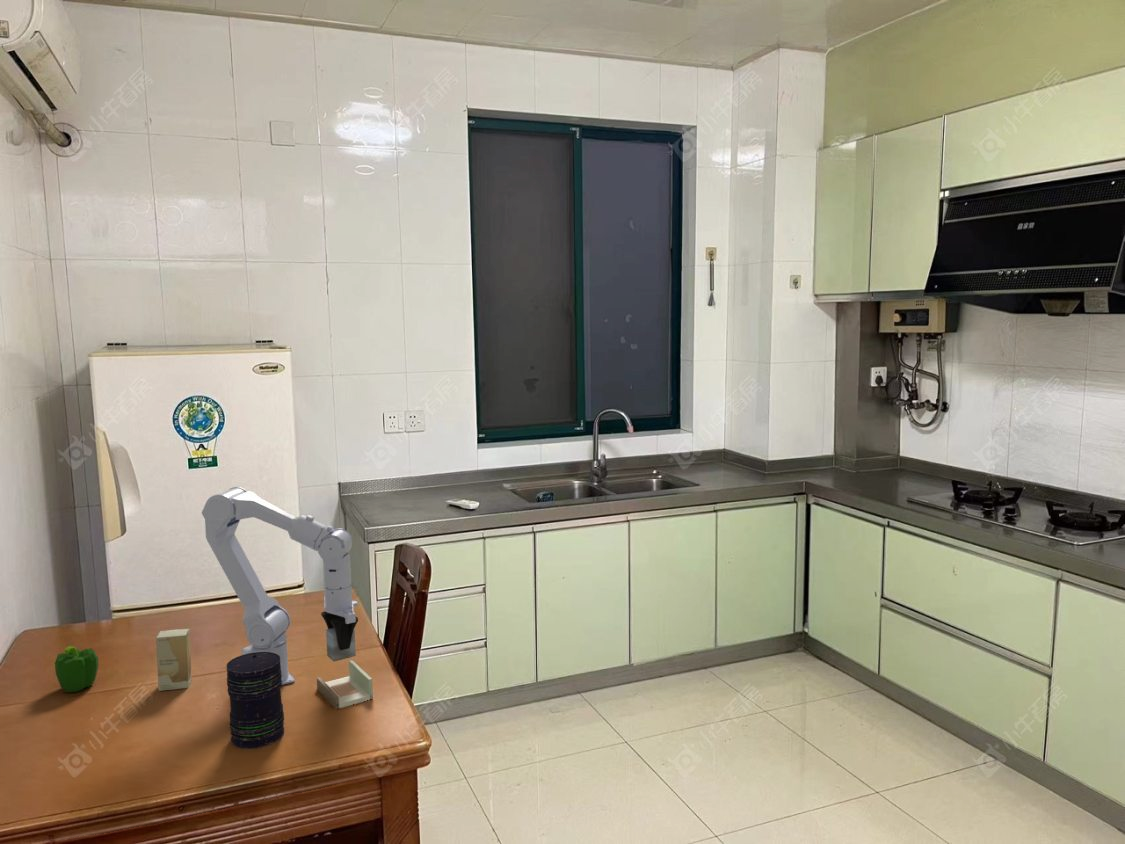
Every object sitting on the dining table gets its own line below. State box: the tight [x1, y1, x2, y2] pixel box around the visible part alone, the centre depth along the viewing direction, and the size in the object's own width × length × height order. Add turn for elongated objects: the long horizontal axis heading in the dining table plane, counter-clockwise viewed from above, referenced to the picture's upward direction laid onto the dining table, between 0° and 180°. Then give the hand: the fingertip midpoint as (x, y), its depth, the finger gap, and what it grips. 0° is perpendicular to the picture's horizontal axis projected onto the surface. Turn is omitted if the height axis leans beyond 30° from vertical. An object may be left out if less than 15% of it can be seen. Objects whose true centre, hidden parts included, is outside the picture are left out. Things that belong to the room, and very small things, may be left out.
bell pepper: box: [54, 645, 99, 693], centre depth 180 cm, size 8×8×10 cm
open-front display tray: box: [316, 659, 374, 710], centre depth 175 cm, size 8×12×4 cm, turn 34°
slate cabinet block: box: [325, 628, 357, 662], centre depth 180 cm, size 5×4×6 cm
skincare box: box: [156, 628, 193, 692], centre depth 180 cm, size 6×4×12 cm
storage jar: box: [226, 652, 285, 750], centre depth 157 cm, size 10×10×15 cm
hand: (340, 645), depth 180 cm, fingers closed on slate cabinet block, 4 cm apart
